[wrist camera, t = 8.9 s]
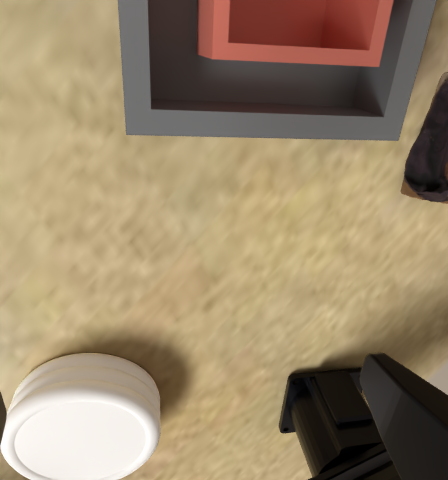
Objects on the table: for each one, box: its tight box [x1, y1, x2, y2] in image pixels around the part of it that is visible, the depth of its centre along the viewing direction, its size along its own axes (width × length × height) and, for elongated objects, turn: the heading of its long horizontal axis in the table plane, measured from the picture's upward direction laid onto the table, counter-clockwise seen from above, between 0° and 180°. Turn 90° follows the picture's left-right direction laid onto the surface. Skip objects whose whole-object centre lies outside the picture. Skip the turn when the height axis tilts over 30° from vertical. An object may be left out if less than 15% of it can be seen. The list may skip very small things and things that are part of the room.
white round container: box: [0, 353, 161, 480], centre depth 26 cm, size 10×10×4 cm
